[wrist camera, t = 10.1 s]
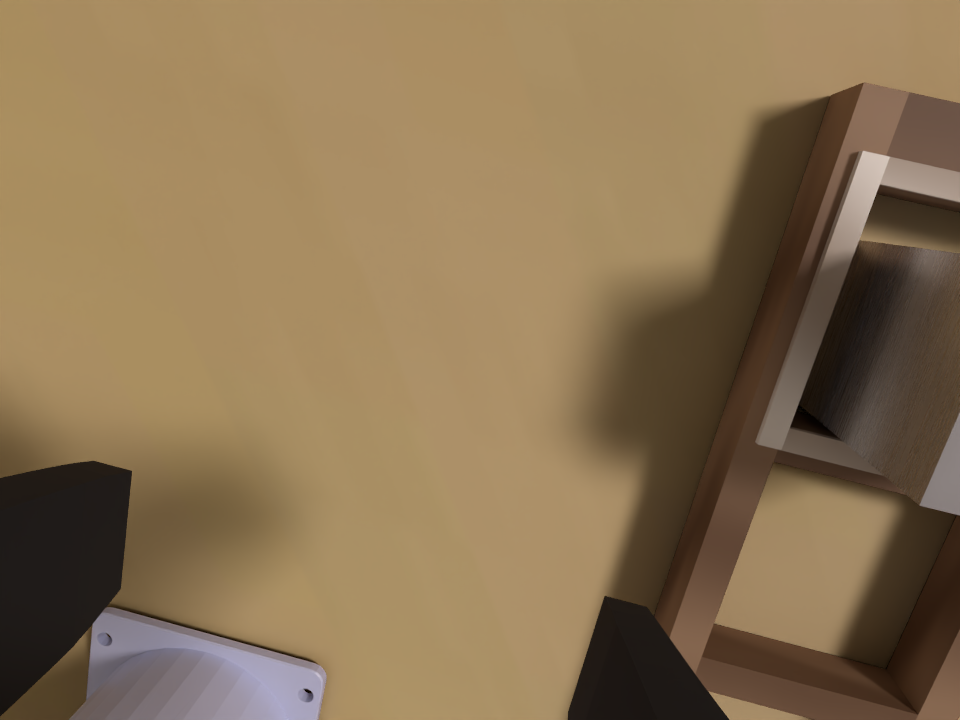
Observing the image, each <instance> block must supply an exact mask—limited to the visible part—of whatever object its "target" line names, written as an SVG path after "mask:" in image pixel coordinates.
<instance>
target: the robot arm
mask: <svg viewBox="0 0 960 720" xmlns="http://www.w3.org/2000/svg"><path fill="white" fill-rule="evenodd" d="M131 476H132V471H130V470H126V469H123V468H119V467H115V466H111V465H107V464H104V463H100V462H96V461H89V462H80V463H73V464H67V465H61V466H56V467H50V468H45V469H40V470H35V471H31V472H26V473H21V474H17V475H12V476H8V477H3V478H0V716H1V715H2V714H3V713H4V712H5V711H6V710H7V709H9V708H10V707H11V706H12V705H13V704H14V703H15V702H16V701H17V700H18V699H19V698H20V697H21V696H22V695H23V694H24V693H26V692H27V691H28V690H29V689H30V688H31V687H32V686H33V685H34V684H35V683H36V682H37V681H38V680H39V679H40V678H41V677H42V676H43V675H44V674H45V673H46V672H47V671H49V670H50V669H51V668H52V667H53V666H54V665H55V664H56V663H57V662H58V661H59V660H60V659H61V658H62V657H63V656H64V655H65V654H66V653H67V652H68V651H69V650H70V649H71V648H72V647H73V646H74V645H75V644H76V643H77V641H78V640H79V639H80V638H81V637H82V636H83V634H84V633H85V632H86V631H87V630H88V629H89V627H90V626H91V625H92V635H91V647H90V659H89V671H88V683H87V695H86V702H85V703H84V704H83V705H82V706H81V707H80V708H79V709H78V710H77V711H76V712H75V713H74V714H73V715H72V716H71V718H70V719H69V720H319V715H320V710H321V705H322V700H323V695H324V690H325V684H326V673H325V671H324V669H323V668H322V667H321V666H320V665H318V664H315V663H312V662H309V661H305V660H302V659H298V658H294V657H291V656H287V655H284V654H280V653H276V652H273V651H269V650H265V649H262V648H258V647H255V646H251V645H247V644H244V643H240V642H236V641H233V640H229V639H226V638H222V637H218V636H215V635H211V634H208V633H204V632H200V631H197V630H193V629H189V628H186V627H182V626H179V625H175V624H171V623H168V622H164V621H160V620H157V619H153V618H150V617H146V616H142V615H139V614H135V613H132V612H128V611H124V610H121V609H117V608H113V607H107V605H108V604H109V603H110V602H111V600H112V599H113V598H114V597H115V595H116V594H117V593H118V592H119V590H120V589H121V580H122V570H123V559H124V549H125V538H126V528H127V517H128V507H129V496H130V486H131ZM106 607H107V608H106ZM106 633H107V634H109V635H110V636H111V638H110V637H108V636H107V634H106ZM304 689H308V690H310V691H311V692H312V693H313V694H311V693H307V692H305V690H304ZM568 720H729V719H728V717H727V716H726V715H725V714H724V712H723V711H722V710H721V708H720V707H719V706H718V704H717V703H716V702H715V700H714V699H713V698H712V696H711V695H710V694H709V692H708V691H707V690H706V688H705V687H704V685H703V684H702V683H701V681H700V680H699V679H698V677H697V676H696V674H695V673H694V672H693V670H692V669H691V667H690V666H689V665H688V663H687V662H686V660H685V659H684V658H683V656H682V655H681V653H680V652H679V651H678V649H677V648H676V646H675V645H674V644H673V642H672V641H671V639H670V638H669V637H668V635H667V634H666V632H665V631H664V629H663V628H662V627H661V625H660V624H659V623H658V621H657V620H656V618H655V617H654V616H653V614H652V613H651V612H650V611H649V609H648V608H647V607H645V606H641V605H637V604H633V603H630V602H626V601H622V600H618V599H614V598H611V597H607V596H605V597H604V600H603V603H602V606H601V610H600V613H599V616H598V619H597V622H596V625H595V629H594V632H593V635H592V638H591V641H590V645H589V648H588V651H587V654H586V657H585V660H584V664H583V667H582V670H581V673H580V676H579V679H578V683H577V686H576V689H575V692H574V695H573V699H572V702H571V705H570V708H569V711H568Z"/></svg>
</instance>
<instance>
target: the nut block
mask: <svg viewBox="0 0 960 720" xmlns="http://www.w3.org/2000/svg"><path fill="white" fill-rule="evenodd" d="M799 405H800V406H802V407H803V408H804V409H805V410H806V411H807V412H809V413H810V414H811V415H812V416H813V417H815V418H816V419H817V420H818V421H819V422H821V423H822V424H823V425H824V426H825V427H827V428H828V429H829V430H830V431H831V432H832V433H834V434H835V435H836V436H837V437H838V438H840V439H841V440H842V441H843V442H844V443H846V444H847V445H848V446H849V447H850V448H851V449H853V450H854V451H855V452H856V453H857V454H859V455H860V456H861V457H862V458H863V459H865V460H866V461H867V462H868V463H869V464H871V465H872V466H873V467H874V468H875V469H876V470H878V471H879V472H880V473H881V474H882V475H884V476H885V477H886V478H887V479H888V480H890V481H891V482H892V483H893V484H894V485H896V486H897V487H898V488H899V489H900V490H901V491H903V492H904V493H905V494H906V495H907V496H909V497H910V498H911V499H912V500H913V501H915V502H916V503H917V504H918V505H919V506H923V507H927V508H931V509H935V510H939V511H944V512H948V513H952V514H956V515H960V253H952V252H945V251H937V250H930V249H922V248H914V247H907V246H899V245H892V244H884V243H876V242H869V241H861V240H859V242H858V245H857V247H856V250H855V253H854V255H853V258H852V261H851V264H850V266H849V269H848V272H847V274H846V277H845V280H844V282H843V285H842V288H841V291H840V293H839V296H838V299H837V301H836V304H835V307H834V309H833V312H832V315H831V318H830V320H829V323H828V326H827V328H826V331H825V334H824V336H823V339H822V342H821V345H820V347H819V350H818V353H817V355H816V358H815V361H814V364H813V366H812V369H811V372H810V374H809V377H808V380H807V382H806V385H805V388H804V391H803V393H802V396H801V399H800V401H799Z"/></svg>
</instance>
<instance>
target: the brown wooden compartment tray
mask: <svg viewBox="0 0 960 720" xmlns="http://www.w3.org/2000/svg"><path fill="white" fill-rule="evenodd" d="M876 194H880V195H885V196H889V197H893V198H898V199H902V200H907V201H911V202H916V203H920V204H924V205H929V206H933V207H938V208H942V209H946V210H951V211H955V212H960V103H956V102H951V101H947V100H942V99H937V98H933V97H928V96H924V95H919V94H915V93H910V92H905V91H901V90H896V89H892V88H887V87H882V86H878V85H873V84H869V83H862V84H859V85H856V86H854V87H851V88H848V89H846V90H843V91H841V92H838V93H835V94H833V95H831V97H830V100H829V103H828V106H827V109H826V112H825V114H824V117H823V120H822V123H821V126H820V129H819V132H818V135H817V138H816V141H815V144H814V147H813V150H812V153H811V156H810V159H809V162H808V165H807V167H806V170H805V173H804V176H803V179H802V182H801V185H800V188H799V191H798V194H797V197H796V200H795V203H794V206H793V209H792V212H791V215H790V217H789V220H788V223H787V226H786V229H785V232H784V235H783V238H782V241H781V244H780V247H779V250H778V253H777V256H776V259H775V262H774V265H773V267H772V270H771V273H770V276H769V279H768V282H767V285H766V288H765V291H764V294H763V297H762V300H761V303H760V306H759V309H758V312H757V315H756V317H755V320H754V323H753V326H752V329H751V332H750V335H749V338H748V341H747V344H746V347H745V350H744V353H743V356H742V359H741V362H740V365H739V367H738V370H737V373H736V376H735V379H734V382H733V385H732V388H731V391H730V394H729V397H728V400H727V403H726V406H725V409H724V412H723V415H722V417H721V420H720V423H719V426H718V429H717V432H716V435H715V438H714V441H713V444H712V447H711V450H710V453H709V456H708V459H707V462H706V465H705V467H704V470H703V473H702V476H701V479H700V482H699V485H698V488H697V491H696V494H695V497H694V500H693V503H692V506H691V509H690V512H689V515H688V517H687V520H686V523H685V526H684V529H683V532H682V535H681V538H680V541H679V544H678V547H677V550H676V553H675V556H674V559H673V562H672V565H671V568H670V570H669V573H668V576H667V579H666V582H665V585H664V588H663V591H662V594H661V597H660V600H659V603H658V606H657V609H656V612H655V615H654V617H655V618H656V620H657V621H658V623H659V624H660V625H661V627H662V628H663V629H664V631H665V632H666V634H667V635H668V637H669V638H670V639H671V641H672V642H673V644H674V645H675V646H676V648H677V649H678V651H679V652H680V653H681V655H682V656H683V658H684V659H685V660H686V662H687V663H688V665H689V666H690V667H691V669H692V670H693V672H694V673H695V674H696V676H697V677H698V679H699V680H700V681H701V683H702V684H703V685H704V687H705V688H706V690H707V691H710V692H714V693H717V694H721V695H725V696H729V697H732V698H736V699H740V700H743V701H747V702H751V703H755V704H758V705H762V706H766V707H769V708H773V709H777V710H781V711H784V712H788V713H792V714H795V715H799V716H803V717H806V718H810V719H814V720H958V718H959V716H960V515H957V516H956V518H955V520H954V523H953V525H952V527H951V529H950V531H949V534H948V536H947V538H946V540H945V542H944V545H943V547H942V549H941V551H940V553H939V555H938V558H937V560H936V562H935V564H934V566H933V569H932V571H931V573H930V575H929V577H928V580H927V582H926V584H925V586H924V588H923V590H922V593H921V595H920V597H919V599H918V601H917V604H916V606H915V608H914V610H913V612H912V615H911V617H910V619H909V621H908V623H907V625H906V628H905V630H904V632H903V634H902V636H901V639H900V641H899V643H898V645H897V647H896V650H895V652H894V654H893V656H892V658H891V661H890V663H889V665H888V667H887V669H883V668H879V667H875V666H871V665H868V664H864V663H860V662H856V661H852V660H849V659H845V658H841V657H837V656H834V655H830V654H826V653H822V652H818V651H815V650H811V649H807V648H803V647H800V646H796V645H792V644H788V643H784V642H781V641H777V640H773V639H769V638H765V637H762V636H758V635H754V634H750V633H747V632H743V631H739V630H735V629H731V628H728V627H724V626H720V625H716V624H714V622H715V619H716V616H717V614H718V611H719V608H720V606H721V603H722V600H723V597H724V595H725V592H726V589H727V587H728V584H729V581H730V578H731V576H732V573H733V570H734V568H735V565H736V562H737V559H738V557H739V554H740V551H741V549H742V546H743V543H744V540H745V538H746V535H747V532H748V530H749V527H750V524H751V521H752V519H753V516H754V513H755V511H756V508H757V505H758V502H759V500H760V497H761V494H762V492H763V489H764V486H765V483H766V481H767V478H768V475H769V473H770V470H771V467H772V464H773V462H776V463H780V464H784V465H788V466H792V467H796V468H800V469H804V470H808V471H812V472H816V473H820V474H824V475H828V476H832V477H836V478H840V479H844V480H848V481H852V482H856V483H860V484H864V485H868V486H872V487H876V488H880V489H884V490H888V491H892V492H896V493H900V494H904V495H906V494H905V493H904V492H903V491H901V490H900V489H899V488H898V487H897V486H896V485H894V484H893V483H892V482H891V481H890V480H888V479H887V478H886V477H885V476H884V475H882V474H881V473H880V472H879V471H878V470H876V469H875V468H874V467H873V466H872V465H871V464H869V463H868V462H867V461H866V460H865V459H863V458H862V457H861V456H860V455H859V454H857V453H856V452H855V451H854V450H853V449H851V448H850V447H849V446H848V445H847V444H846V443H844V442H843V441H842V440H841V439H840V438H838V437H837V436H836V435H835V434H834V433H832V432H831V431H830V430H829V429H828V428H827V427H825V426H824V425H823V424H822V423H821V422H819V421H818V420H817V419H816V418H815V417H813V416H810V415H806V414H802V413H798V412H796V409H797V407H798V404H799V401H800V399H801V396H802V393H803V391H804V388H805V385H806V382H807V380H808V377H809V374H810V372H811V369H812V366H813V364H814V361H815V358H816V355H817V353H818V350H819V347H820V345H821V342H822V339H823V336H824V334H825V331H826V328H827V326H828V323H829V320H830V318H831V315H832V312H833V309H834V307H835V304H836V301H837V299H838V296H839V293H840V291H841V288H842V285H843V282H844V280H845V277H846V274H847V272H848V269H849V266H850V264H851V261H852V258H853V255H854V253H855V250H856V247H857V245H858V242H859V239H860V236H861V234H862V231H863V228H864V226H865V223H866V220H867V218H868V215H869V212H870V209H871V207H872V204H873V201H874V199H875V196H876Z"/></svg>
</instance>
